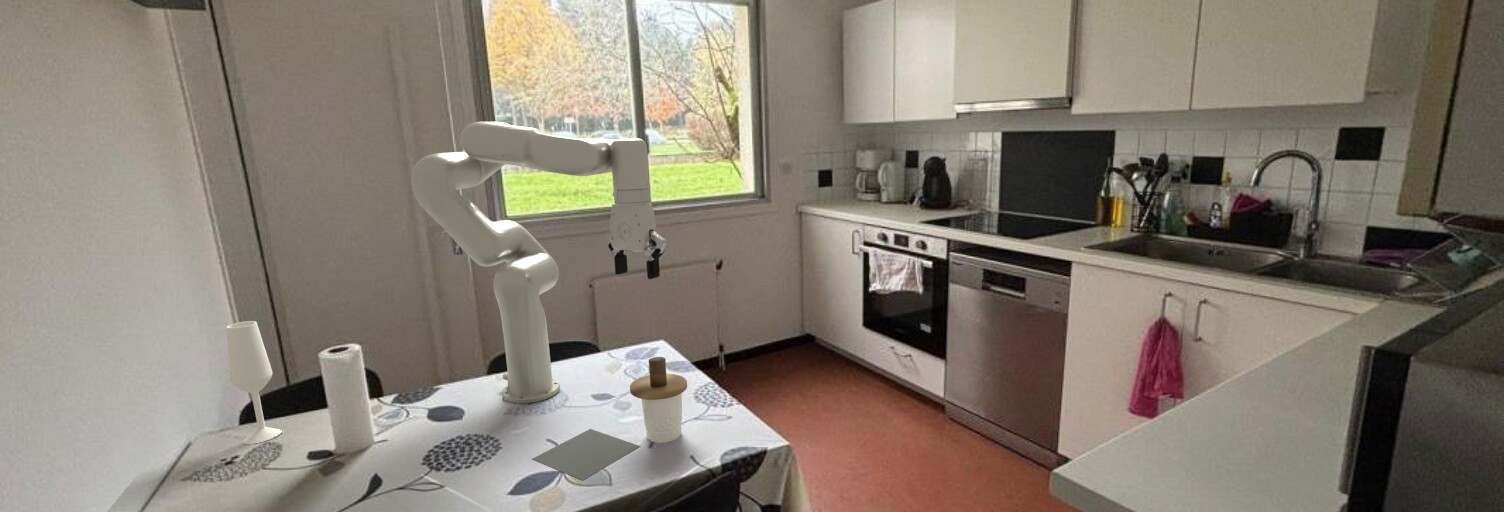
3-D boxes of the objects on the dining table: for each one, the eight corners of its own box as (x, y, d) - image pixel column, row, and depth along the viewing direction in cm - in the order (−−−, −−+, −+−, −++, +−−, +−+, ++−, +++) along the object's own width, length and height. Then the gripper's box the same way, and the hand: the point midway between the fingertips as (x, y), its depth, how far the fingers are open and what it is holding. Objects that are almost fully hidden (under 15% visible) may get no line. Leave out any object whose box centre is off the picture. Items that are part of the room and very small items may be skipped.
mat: (531, 460, 116) (531, 458, 116) (590, 430, 127) (590, 428, 127) (582, 482, 108) (582, 480, 108) (640, 448, 120) (640, 446, 120)
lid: (618, 392, 121) (615, 363, 120) (657, 373, 130) (655, 346, 129) (660, 404, 115) (658, 374, 114) (698, 383, 124) (697, 355, 123)
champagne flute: (281, 438, 128) (260, 325, 124) (240, 447, 125) (216, 331, 121) (285, 426, 134) (265, 317, 130) (245, 434, 131) (223, 323, 126)
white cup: (677, 447, 120) (674, 397, 118) (637, 444, 121) (634, 395, 119) (689, 428, 127) (686, 381, 125) (652, 425, 129) (649, 379, 127)
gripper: (590, 197, 136) (597, 275, 139) (649, 200, 126) (654, 283, 130) (616, 194, 142) (622, 268, 146) (674, 196, 133) (678, 276, 136)
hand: (637, 275), depth 138 cm, fingers open, 9 cm apart
